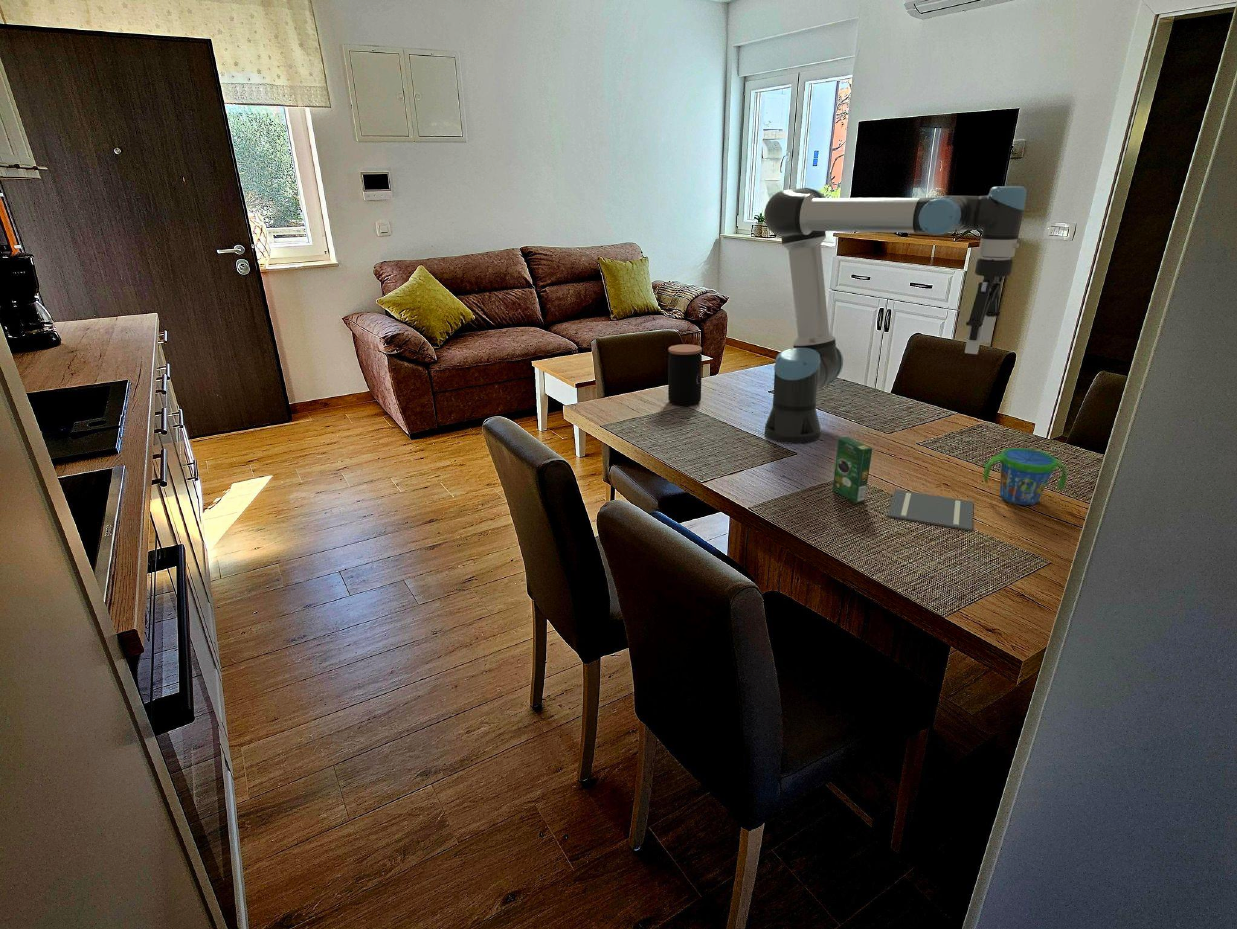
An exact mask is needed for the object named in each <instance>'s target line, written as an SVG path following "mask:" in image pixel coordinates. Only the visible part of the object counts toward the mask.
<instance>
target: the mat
mask: <svg viewBox="0 0 1237 929" xmlns="http://www.w3.org/2000/svg"><path fill="white" fill-rule="evenodd" d="M892 495H893V496H892V499H891V502H890V504H889V508H888V513H887V518H893V519H899V520H904V521H905V520H906V521H910V522H917V523H923V524H927V525H934V526H941V527H946V528H951V529H957V530H964V531H969V532H973V526H974V525H973V524H974V523H973V519H974V518H973V516H974V501H973V500H966V499H960V498H954V497H948V496H940V495H934V494H928V493H921V492H913V491H907V490H902V489H894V491H893V494H892Z"/></svg>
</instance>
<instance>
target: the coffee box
mask: <svg viewBox="0 0 1237 929" xmlns="http://www.w3.org/2000/svg"><path fill="white" fill-rule="evenodd" d="M836 451H837V452H836V455H835V456H836V458H835V465H834V473H833V481H832V482H833V483H832V492H835V493H836V494H837V495H839V496H842V497H844V498H846V500H849V501H850V502H852V503H855V504H859V503H863V502H865V500H866V493H867V487H868V481H869V480H868V479H869V474H870V466H871V461H872V455H873V454H872V453H873V447H870V446H869V445H866V444H864V443H862V442H860V441H857V440H856V439H855V438H854V439H853V438H851V437H849V436H843V437H839V438H838V441H837V450H836Z"/></svg>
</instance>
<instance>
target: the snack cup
mask: <svg viewBox="0 0 1237 929" xmlns="http://www.w3.org/2000/svg"><path fill="white" fill-rule="evenodd" d="M997 462H1000V465H1001V466H1000V478H999V479H1000V482H999V483H1000V484H999V485H1000V486H999V494H1000V495H999V496H1000V497H1001V498H1002V499H1003V500H1005V501H1007V502H1010V503H1012V504H1014V505H1023V506H1025V505H1026V506H1027V505H1030V506H1034V505H1035V504H1037V503H1038V502H1040V500H1041V498H1042V495H1043V493H1044V491H1045V489H1046V486H1047V483H1048V481H1049V480H1050V477H1051V475H1052V473H1054V471H1055V470H1056V467H1060V468H1061V469H1062V475H1061V476H1060V479H1059V481H1058V484H1057V487H1058V489H1059V490H1063V489H1064V488H1065V486H1066V483H1067V477H1068V474H1067V469H1066V467H1065V466H1064V465H1063V463H1061V461H1060V460H1057V458H1056V457H1054V456H1053V455H1051V454H1049V453H1047V452H1044V451H1040V450H1036V449H1030V448H1024V447H1023V448H1021V447H1013V448H1012V447H1011V448H1006V449H1005V448H1004V449H1003V450H1002V451H1001V452H1000V453H999V454H998V455H995V456H993V457H992V458H991V459H990V460H989V461H988V462H987V463H986V465H985V467H984V470H983V480H984V483H985V484H988V483H989V482H988V479H989V475H990V471H991V468H992V465H994V464H995V463H997Z"/></svg>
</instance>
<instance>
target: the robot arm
mask: <svg viewBox="0 0 1237 929" xmlns="http://www.w3.org/2000/svg"><path fill="white" fill-rule="evenodd" d="M1027 193H1028V192H1027V189H1026V187H1025V186H1017V185H1015V186H1013V185H1012V186H993V187H991V188H990V189H989V193H988V194H987V195H979V196H978V195H952V194H951V195H950V194H949V195H947V194H946V195H937V196H935V197H838V198H837V197H826V196H825V195H824V194H823V193H822V192H820V191H819V190H817V189H814V188H810V187H802V188H801V187H800V188H794V189H793V188H791V189H784V190H780V191H778V192H776V193H775V194H773V195H772V196H771V197H770V198H769V200H768V202H766V205H765V208H764V212H763V214H764V216H763V218H764V222H765V224H766V227H767V228H768V230H769V231H770V232H771V233H772V234H774V235H776V236H778V237H780V238H781V239H780V240H781V245H782V247H784V248H785V249H786V250H787V251H788V257H789V258H788V259H789V268H790V275H791V276H790V277H791V286H792V296H793V304H794V314H795V315H794V316H795V323H796V332H797V337H796V339H795V340H794V341H793V343H792V347H793V348H788V349H784V350H782V351H781V352H779V353H778V354H777V356H776V358H775V364H774V368H773V369H774V376H773V377H774V378H773V392H772V393H773V394H772V395H773V397H772V407H771V410H770V413H769V415H768V417H767V420H766V422H765V425H764V435H765V436H766V437H767V439H770V440H772V441H776V442H780V443H784V444H809V443H812V442H815V441H817V440H819V438H820V437H821V425H820V421H819V416H818V413H817V402H818V401H817V399H818V391H819V390H820V389H822V388H824V387H825V386H828V385H829V384H831V383H833V382H834V381H835V380H836V379H837V378H838V376H840V374H841V373H842V370H843V367H844V357H843V353H842V351H841V350H840V349H839V348H838V347H837V344H836V337H835V336H834V335H833V334H831V333H830V329H829V317H828V308H827V299H826V298H827V296H826V287H825V278H824V267H823V265H824V264H823V256H822V244H823V242H824V240H825V239H826V237H827V236H826V234H827V233H826V232H857V233H858V232H860V233H861V232H863V233H864V232H868V233H904V234H905V233H908V234H909V233H911V234H912V233H913V234H929V235H933V236H939V235H940V236H941V235H945V234H947V233H950V232H954V231H957V230H958V231H982V233H981V237H980V241H979V247H978V252H977V256H978V257H979V258H978V259H976V263H975V269H974V274H975V275H976V276H979V277H980V276H981V277H983V279H982V281H979V282H978V284H977V291H976V294H975V297H974V298H975V299H974V302H973V305H972V308H971V312H970V315H969V320H968V321H966V324H965V326H968V333H967V338H966V343H965V350H964V354H972V355H978V353H979V348H980V345H981V344H982V343H983V344H991V341H992V337H993V331H994V327H995V323H996V322H995V321H996V317H998V318H999V317H1000V314H1001V312H999V311H1000V300H1001V299H1000V298H1001V290H1002V284H1003V279H1004V277H1005V278H1006V277H1009V276H1011V273H1012V269H1013V265H1014V264H1013V263H1014V260H1013V259H1012V258H1013V257H1014V256H1015V253H1016V249H1018V248H1019V247H1020V243H1017V242H1018V239H1019V234H1020V230H1021V226H1022V222H1023V217H1024V212H1025V208H1026V207H1025V205H1026V198H1027ZM980 343H981V344H980Z"/></svg>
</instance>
